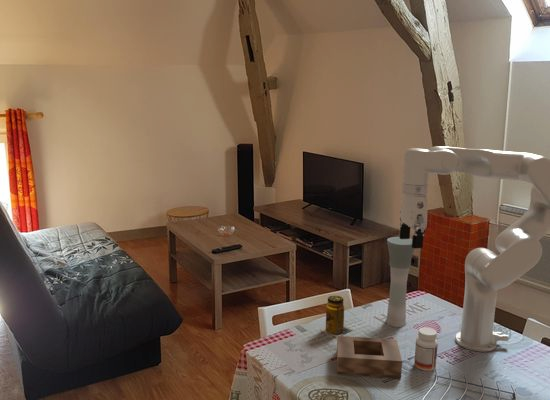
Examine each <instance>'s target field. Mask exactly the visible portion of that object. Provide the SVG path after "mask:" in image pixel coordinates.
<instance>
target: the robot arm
mask: <svg viewBox="0 0 550 400" xmlns="http://www.w3.org/2000/svg"><path fill="white" fill-rule="evenodd" d="M403 159H404V160H403V172H402V187H401V194H402V199H401V207H400V211H399V213H400V214H399V215H400V217H399V220H400V223H399V228H400V229H399V237H400V239H409V238H411V228H412V231H413V234H412V238H411V239H412V248H414V249H423V248H424V247H423V246H424V244H423V243H424V236H425V232H426V228H427V226H428V225H427V224H428V188H429V177H430V174H435V175H443V176H445V175H451V174H453V173H455V172H458V173H459V172H460V173H465V174H469V175H473V176H475V177H480V178H484V179H495V180H508V181H509V180H510V181H521V182H527V183H528V184H531V185H532V187H531V189H530V202H529V206H528V209H527V210H526V212H525V213H524V214H523V215H521V217H519V218H518V219H517V220H516V221H515V222H513V223H512V224H511V225H509V226H508V227H506V228H505V229H504V230H503V231H501V232H500V233H498V235H497V236H496V237H495V240H494V246H495V248H496V250H497V251H498V252H499V254H497V253H495V252H494V251H492V250H490V249H488V248H485V247H477V248H473V249H472V250H470V251H469V252H468V253H467V255H466V257H465V261H464V273H465V275H464V277H465V280H464V281H465V283H464V285H465V286H464V297H463V306H462V315H461V317H462V318H461V327H460V331H458V332H457V333H456V334H455V337H454V338H455V341H456V343H457V344H458V345H459V346H461V347H462V348H465V349H467V350H471V351H474V352H482V353H484V352H492V351H494V350H496V349H497V345H498V343H497V342H498V341H503V342H509V335H508V334H502V332H501V331H494V325H495V324H494V323H495V314H496V313H495V312H496V305H497V296H498V290H502V289H504V288H506V287H508V286H510V285H512V283H514V282H515V281H517V280H518V279H519V278H521V277H522V276H523V275H525V274H526V273H528V272H529V271H530V270H531V269H532V268H534V267H535V266H536V265H537V264H538V263H539V262H540V259H541V258H542V255H543V247H542V244H541V242H540V240H541V239H542V238H543V237H544V236H546V234H548V233H549V232H550V158H549V157H546V156H544V155H539V154H535V153H531V152H523V151H522V152H520V151H519V152H518V151H506V150H495V149H483V148H480V149H479V148H466V147H465V148H463V147H453V146H440V145H439V146H438V145H436V146H432V147H430V148H426V149H425V148H420V147H417V148H416V147H413V148H412V147H410V148H408V149H406V150H405V152H404V157H403Z"/></svg>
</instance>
